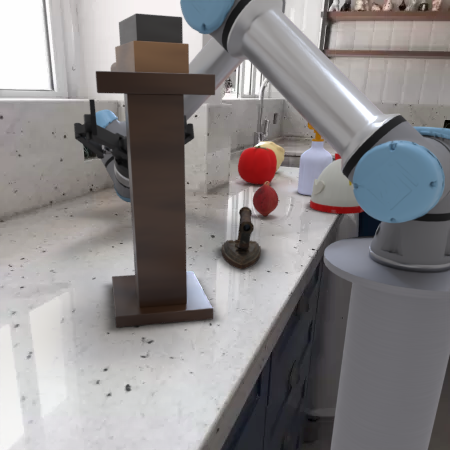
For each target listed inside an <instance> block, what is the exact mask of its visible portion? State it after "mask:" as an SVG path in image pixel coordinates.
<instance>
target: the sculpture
mask: <svg viewBox="0 0 450 450" xmlns="http://www.w3.org/2000/svg"><path fill="white" fill-rule="evenodd" d="M258 145H260V147H266V148H269V149H272V150H273V151H274V152H275V155H276V159H277V168H276V172H278V170H279V169H280V167H281V165H282V163H283V162H284V160H285V153H286V150H285V148H284V147H282V146H280V145H278V144H277V143H275V142H274V141H268V140H266V141H259V143H258V144H255V145H254V146H253V147H255V146H256V147H258Z"/></svg>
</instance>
